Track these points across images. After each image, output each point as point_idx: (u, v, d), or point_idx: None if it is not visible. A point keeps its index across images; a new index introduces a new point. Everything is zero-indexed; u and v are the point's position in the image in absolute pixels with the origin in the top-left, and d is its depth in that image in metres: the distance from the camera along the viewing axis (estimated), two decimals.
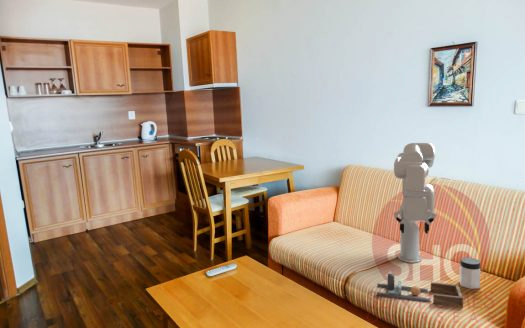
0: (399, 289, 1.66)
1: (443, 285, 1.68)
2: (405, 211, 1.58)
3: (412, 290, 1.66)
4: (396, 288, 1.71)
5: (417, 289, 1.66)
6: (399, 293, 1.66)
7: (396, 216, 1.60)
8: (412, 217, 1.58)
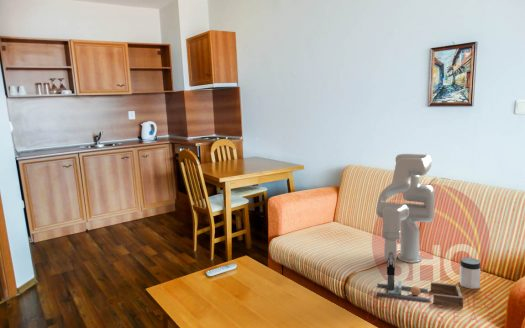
0: (399, 289, 1.66)
1: (443, 285, 1.68)
2: (396, 253, 1.63)
3: (412, 290, 1.66)
4: (396, 288, 1.71)
5: (417, 289, 1.66)
6: (399, 293, 1.66)
7: None
8: None
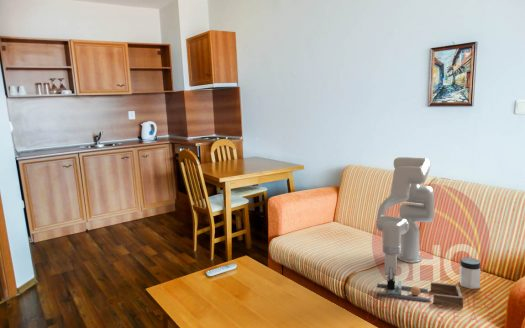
0: (399, 289, 1.66)
1: (443, 285, 1.68)
2: (396, 268, 1.64)
3: (412, 290, 1.66)
4: (396, 288, 1.71)
5: (417, 289, 1.66)
6: (399, 293, 1.66)
7: None
8: None
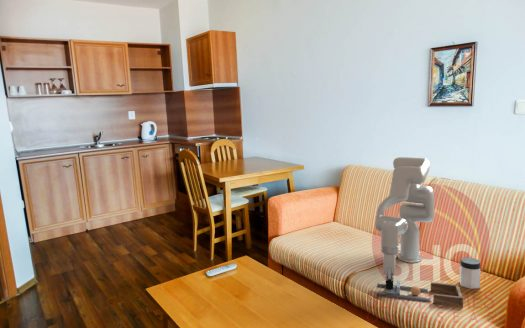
0: (398, 289, 1.66)
1: (443, 285, 1.68)
2: (394, 268, 1.64)
3: (412, 290, 1.66)
4: (395, 288, 1.71)
5: (417, 289, 1.66)
6: (398, 293, 1.66)
7: (390, 277, 1.65)
8: None
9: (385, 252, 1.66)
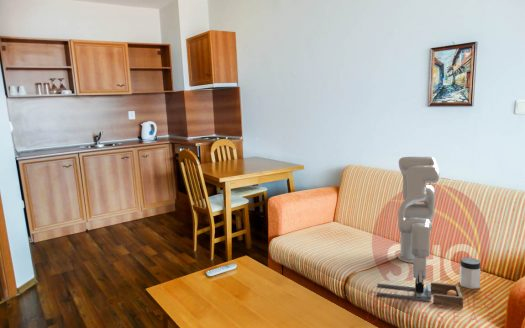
0: (429, 292, 1.62)
1: (443, 285, 1.68)
2: (425, 271, 1.60)
3: (451, 293, 1.61)
4: (425, 291, 1.67)
5: (456, 295, 1.61)
6: (428, 296, 1.62)
7: (421, 281, 1.61)
8: None
9: (416, 255, 1.61)
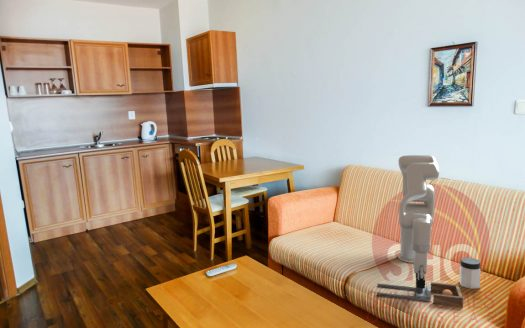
0: (428, 292, 1.62)
1: (443, 285, 1.68)
2: (426, 266, 1.60)
3: (444, 294, 1.62)
4: (424, 291, 1.67)
5: (449, 292, 1.61)
6: (428, 296, 1.62)
7: None
8: None
9: (417, 250, 1.61)
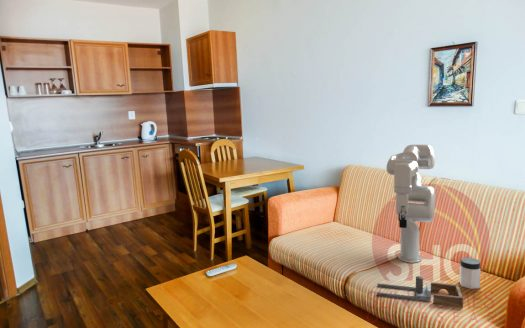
0: (428, 292, 1.62)
1: (443, 285, 1.68)
2: (407, 206, 1.71)
3: None
4: (424, 291, 1.67)
5: (442, 292, 1.62)
6: (428, 296, 1.62)
7: (404, 214, 1.69)
8: None
9: (398, 192, 1.72)
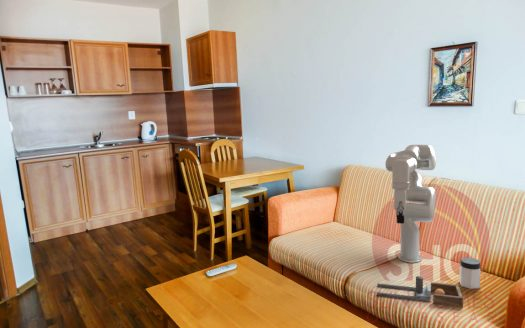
0: (428, 292, 1.62)
1: (443, 285, 1.68)
2: (405, 202, 1.72)
3: None
4: (424, 291, 1.67)
5: (436, 292, 1.63)
6: (428, 296, 1.62)
7: (402, 210, 1.70)
8: None
9: (396, 188, 1.73)
